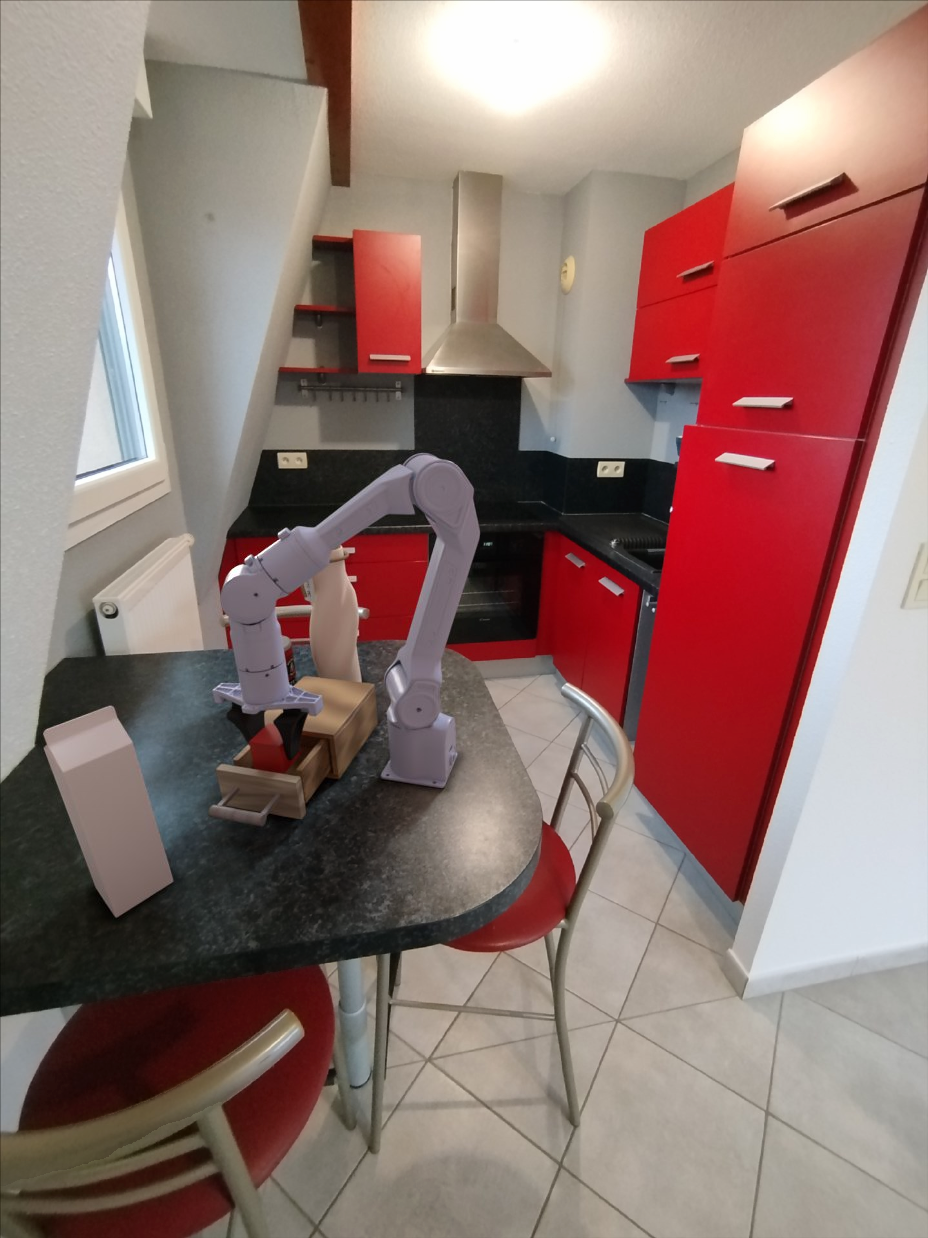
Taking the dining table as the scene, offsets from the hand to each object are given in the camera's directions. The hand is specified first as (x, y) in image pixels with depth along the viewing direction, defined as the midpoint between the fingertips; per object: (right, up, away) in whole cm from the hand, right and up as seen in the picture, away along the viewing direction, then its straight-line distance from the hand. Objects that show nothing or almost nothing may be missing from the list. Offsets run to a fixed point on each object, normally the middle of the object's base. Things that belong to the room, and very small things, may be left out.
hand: (276, 752), depth 71 cm
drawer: (0, -6, +2) cm, 6 cm away
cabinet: (+3, -2, +13) cm, 13 cm away
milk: (-12, -12, -11) cm, 20 cm away
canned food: (-9, +3, +26) cm, 28 cm away
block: (0, -1, 0) cm, 1 cm away
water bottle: (+1, +5, +30) cm, 31 cm away
